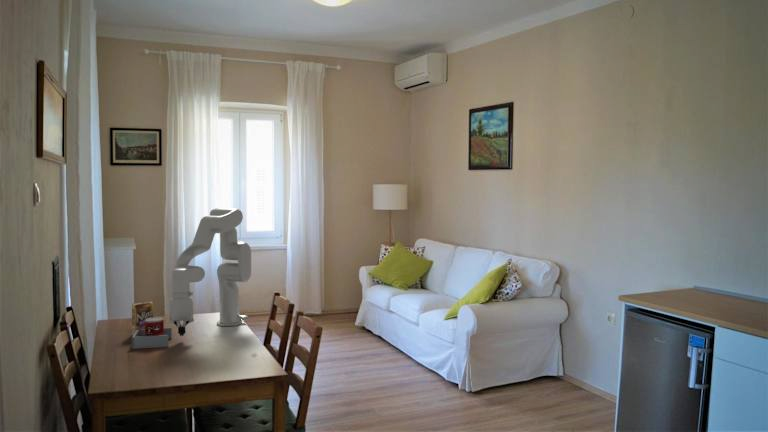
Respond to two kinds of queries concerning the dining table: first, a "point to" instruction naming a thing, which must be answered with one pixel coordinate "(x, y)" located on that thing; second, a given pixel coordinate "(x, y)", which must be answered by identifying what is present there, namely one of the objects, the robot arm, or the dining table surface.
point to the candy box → (141, 315)
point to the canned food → (154, 326)
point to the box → (151, 339)
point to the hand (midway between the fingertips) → (181, 335)
